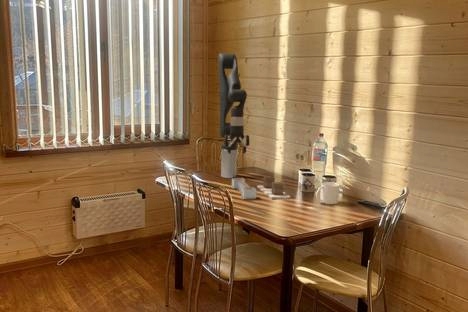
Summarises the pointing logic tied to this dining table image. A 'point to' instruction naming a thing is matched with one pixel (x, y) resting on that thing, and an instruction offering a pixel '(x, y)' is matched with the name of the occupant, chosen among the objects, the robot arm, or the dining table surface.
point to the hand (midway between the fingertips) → (236, 153)
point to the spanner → (244, 188)
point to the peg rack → (273, 188)
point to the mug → (328, 193)
